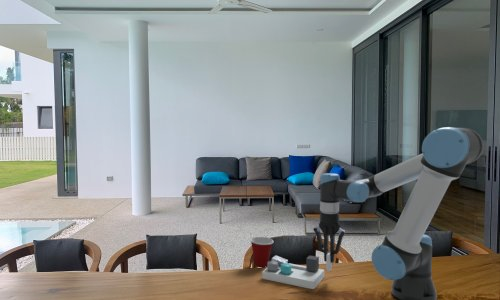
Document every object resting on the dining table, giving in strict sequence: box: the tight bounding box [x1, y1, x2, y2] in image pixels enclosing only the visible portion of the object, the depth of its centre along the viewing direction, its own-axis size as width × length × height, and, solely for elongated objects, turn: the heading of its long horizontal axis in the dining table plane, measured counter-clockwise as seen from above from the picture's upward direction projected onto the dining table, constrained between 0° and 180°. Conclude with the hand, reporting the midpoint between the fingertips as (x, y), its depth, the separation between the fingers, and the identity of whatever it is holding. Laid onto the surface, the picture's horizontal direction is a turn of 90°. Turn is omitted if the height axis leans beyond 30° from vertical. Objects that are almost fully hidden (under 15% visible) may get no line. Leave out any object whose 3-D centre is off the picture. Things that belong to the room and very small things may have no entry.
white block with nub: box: [270, 255, 289, 265], centre depth 154 cm, size 6×4×1 cm, turn 61°
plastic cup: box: [249, 236, 274, 269], centre depth 162 cm, size 11×11×12 cm
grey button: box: [266, 260, 278, 272], centre depth 148 cm, size 4×4×3 cm
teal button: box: [281, 263, 292, 275], centre depth 145 cm, size 4×4×3 cm
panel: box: [261, 262, 326, 290], centre depth 147 cm, size 22×14×4 cm, turn 61°
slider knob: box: [305, 255, 320, 272], centre depth 147 cm, size 4×4×5 cm
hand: (329, 269), depth 144 cm, fingers closed
